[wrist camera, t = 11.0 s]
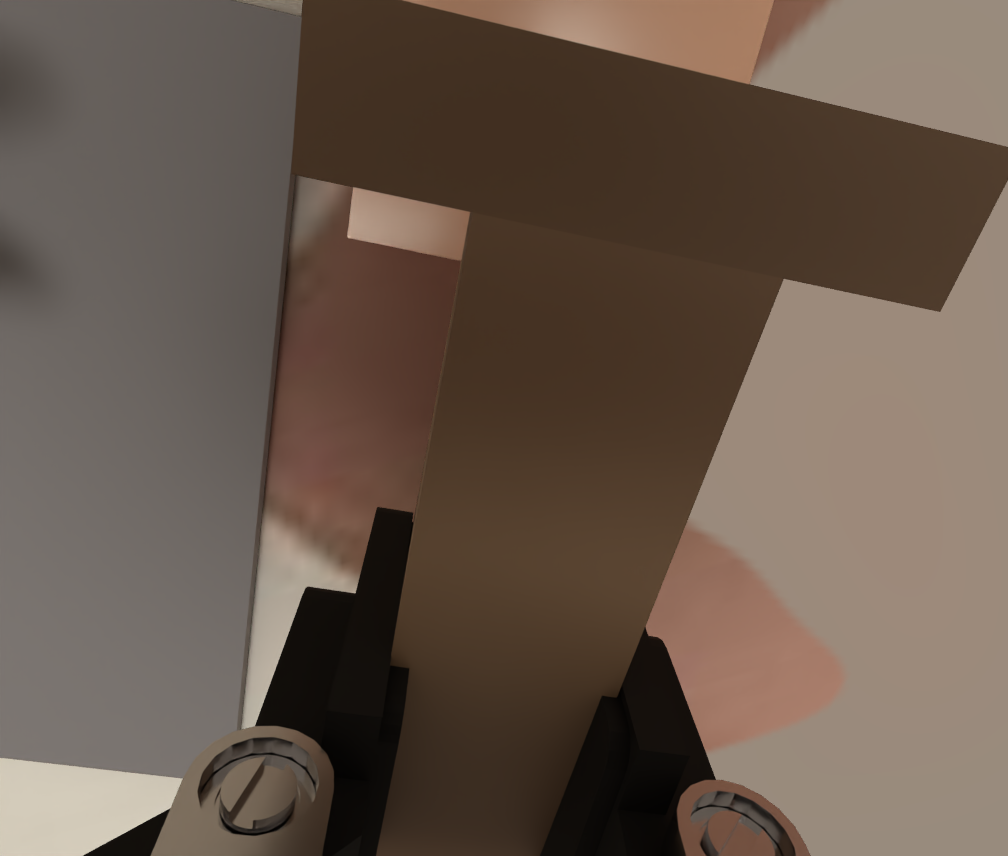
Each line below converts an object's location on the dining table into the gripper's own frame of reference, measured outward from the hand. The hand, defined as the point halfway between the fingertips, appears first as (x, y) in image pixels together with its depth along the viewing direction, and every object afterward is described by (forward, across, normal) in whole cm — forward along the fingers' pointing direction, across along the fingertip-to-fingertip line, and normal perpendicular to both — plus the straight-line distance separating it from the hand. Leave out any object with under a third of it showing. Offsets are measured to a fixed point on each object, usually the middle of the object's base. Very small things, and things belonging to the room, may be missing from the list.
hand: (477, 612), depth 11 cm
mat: (+7, +9, +2) cm, 12 cm away
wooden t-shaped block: (+1, 0, 0) cm, 1 cm away
